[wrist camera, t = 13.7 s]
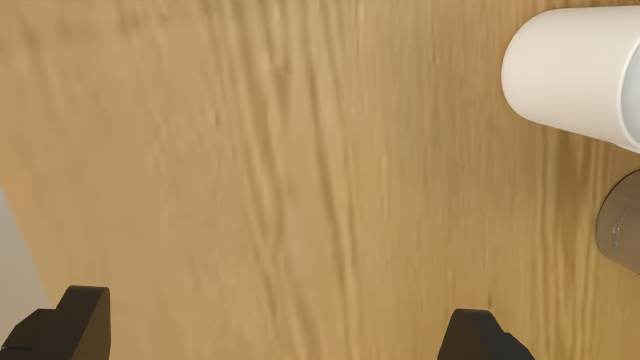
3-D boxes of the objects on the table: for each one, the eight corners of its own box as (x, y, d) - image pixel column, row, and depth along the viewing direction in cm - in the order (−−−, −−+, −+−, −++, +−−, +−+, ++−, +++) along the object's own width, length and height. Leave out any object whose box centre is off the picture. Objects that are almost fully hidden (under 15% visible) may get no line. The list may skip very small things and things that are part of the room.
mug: (619, 100, 39) (762, 124, 30) (550, 171, 39) (671, 217, 30) (557, -17, 34) (706, -32, 25) (477, 65, 34) (596, 81, 25)
